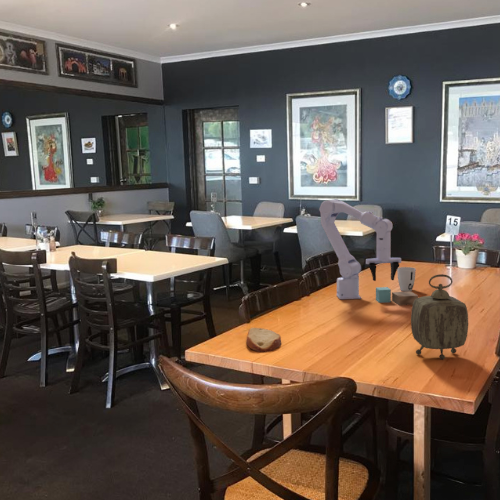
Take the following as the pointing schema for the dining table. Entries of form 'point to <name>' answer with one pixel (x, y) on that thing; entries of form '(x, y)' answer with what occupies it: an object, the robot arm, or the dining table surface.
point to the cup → (406, 278)
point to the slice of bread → (263, 340)
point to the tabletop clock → (439, 320)
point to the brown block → (404, 298)
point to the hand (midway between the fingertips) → (383, 280)
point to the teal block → (383, 294)
